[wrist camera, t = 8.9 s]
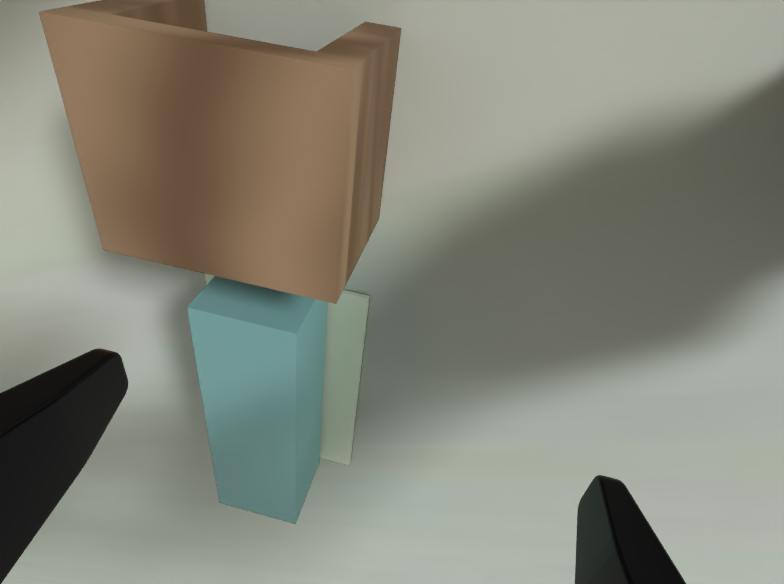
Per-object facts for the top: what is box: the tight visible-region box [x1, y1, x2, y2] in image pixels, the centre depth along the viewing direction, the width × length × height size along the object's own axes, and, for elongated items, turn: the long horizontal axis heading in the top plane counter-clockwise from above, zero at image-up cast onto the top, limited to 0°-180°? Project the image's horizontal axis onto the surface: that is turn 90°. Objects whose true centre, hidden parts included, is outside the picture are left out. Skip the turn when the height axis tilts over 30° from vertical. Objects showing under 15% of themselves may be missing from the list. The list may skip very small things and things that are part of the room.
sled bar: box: [187, 276, 328, 524], centre depth 25 cm, size 4×14×4 cm, turn 173°
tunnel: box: [39, 0, 401, 304], centre depth 16 cm, size 8×7×6 cm
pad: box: [204, 273, 370, 465], centre depth 27 cm, size 8×13×1 cm, turn 173°
